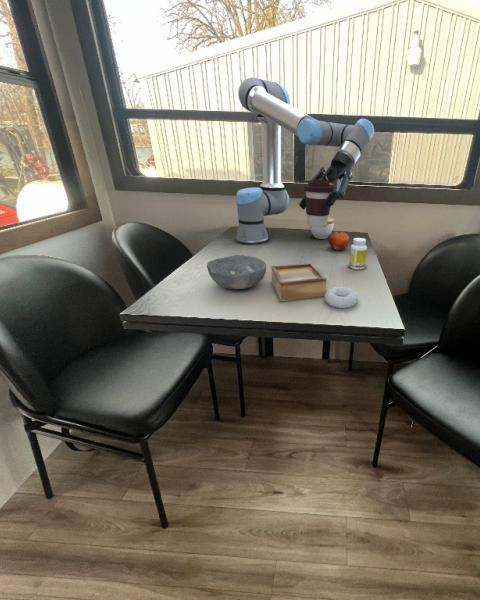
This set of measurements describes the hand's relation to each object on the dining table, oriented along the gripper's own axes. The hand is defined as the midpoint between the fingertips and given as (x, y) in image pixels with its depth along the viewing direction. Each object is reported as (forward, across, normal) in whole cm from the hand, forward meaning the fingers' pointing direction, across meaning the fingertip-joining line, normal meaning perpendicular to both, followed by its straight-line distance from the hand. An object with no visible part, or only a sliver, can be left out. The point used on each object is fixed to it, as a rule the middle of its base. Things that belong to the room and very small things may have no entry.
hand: (311, 209), depth 102 cm
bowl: (+36, +3, +4) cm, 36 cm away
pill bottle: (+4, -10, -27) cm, 29 cm away
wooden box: (+26, -11, -4) cm, 29 cm away
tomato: (-4, +11, -35) cm, 37 cm away
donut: (+24, -26, -7) cm, 36 cm away
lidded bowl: (-10, +30, -41) cm, 52 cm away
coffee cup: (+2, 0, -6) cm, 7 cm away
